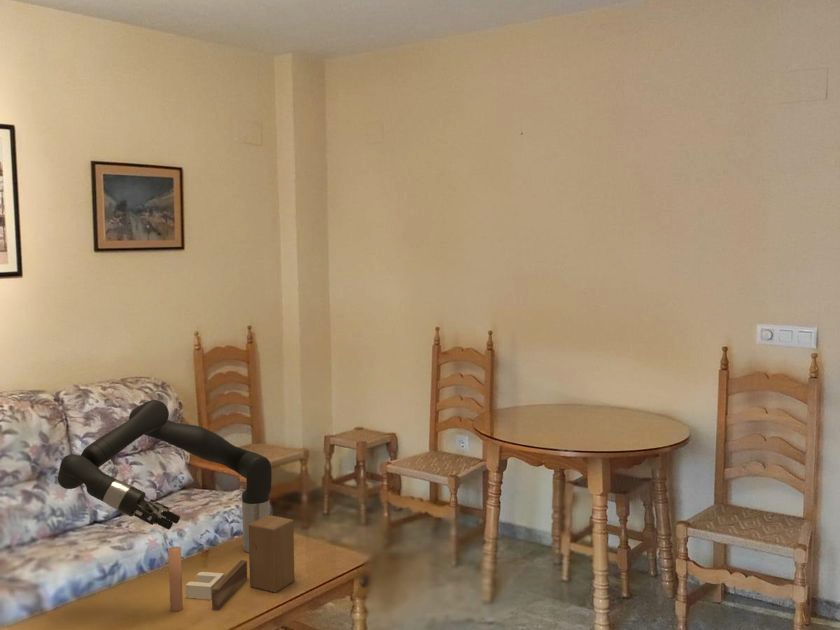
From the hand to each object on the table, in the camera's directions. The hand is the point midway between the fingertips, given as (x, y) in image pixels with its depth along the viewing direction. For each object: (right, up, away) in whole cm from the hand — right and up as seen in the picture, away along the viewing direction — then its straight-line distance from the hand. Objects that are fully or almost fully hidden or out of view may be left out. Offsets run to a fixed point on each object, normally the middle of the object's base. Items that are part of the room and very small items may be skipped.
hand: (175, 523), depth 234 cm
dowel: (-1, -26, +4) cm, 26 cm away
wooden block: (+24, -24, +21) cm, 40 cm away
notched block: (+5, -25, +16) cm, 30 cm away
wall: (+13, -25, +14) cm, 31 cm away
